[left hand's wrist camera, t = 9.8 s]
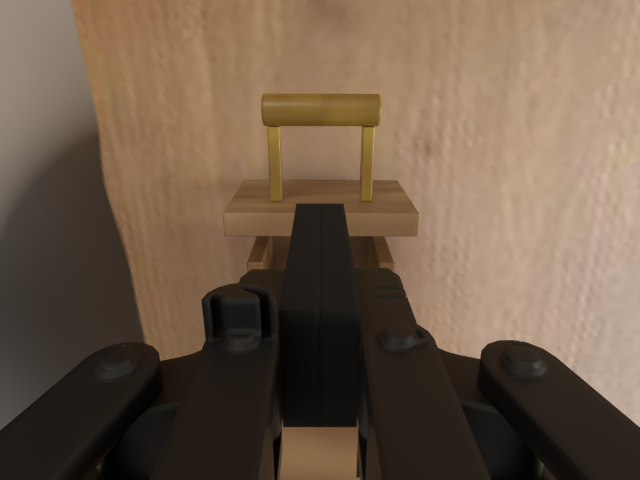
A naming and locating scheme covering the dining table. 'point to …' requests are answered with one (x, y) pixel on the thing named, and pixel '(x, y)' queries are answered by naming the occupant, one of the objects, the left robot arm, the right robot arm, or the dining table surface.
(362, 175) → the drawer
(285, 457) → the cabinet
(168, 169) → the dining table surface
